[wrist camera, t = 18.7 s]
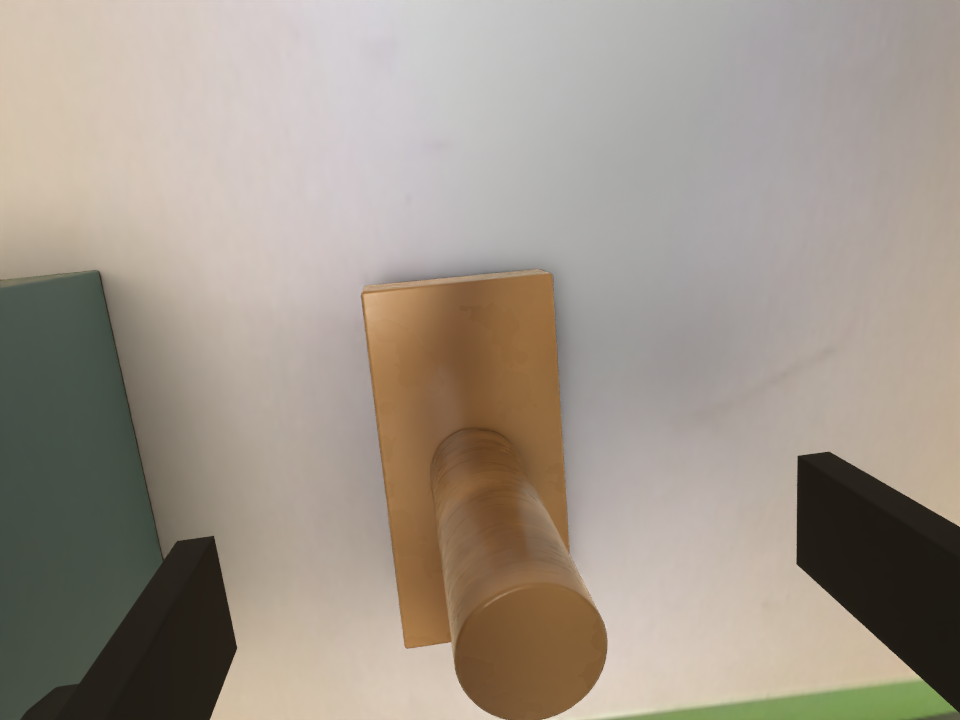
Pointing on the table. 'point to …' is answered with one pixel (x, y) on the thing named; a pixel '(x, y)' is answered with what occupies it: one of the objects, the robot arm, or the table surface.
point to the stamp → (482, 487)
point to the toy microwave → (64, 488)
